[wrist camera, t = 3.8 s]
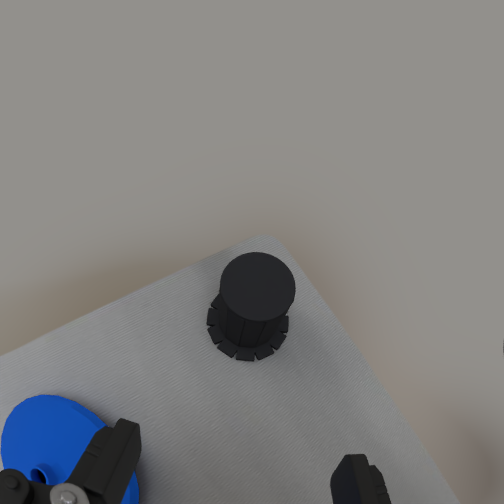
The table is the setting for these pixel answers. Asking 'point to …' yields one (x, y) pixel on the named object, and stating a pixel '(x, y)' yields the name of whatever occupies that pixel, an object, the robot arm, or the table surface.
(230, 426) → the table surface
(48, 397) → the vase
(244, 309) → the black hat
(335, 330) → the table surface
